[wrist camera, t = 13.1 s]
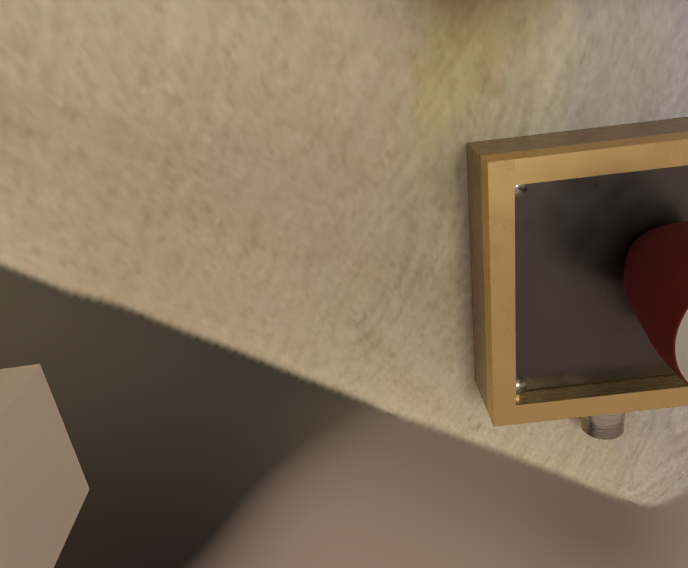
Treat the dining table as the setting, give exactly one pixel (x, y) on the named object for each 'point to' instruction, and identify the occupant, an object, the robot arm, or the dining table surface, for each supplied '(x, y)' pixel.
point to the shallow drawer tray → (570, 271)
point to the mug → (661, 291)
